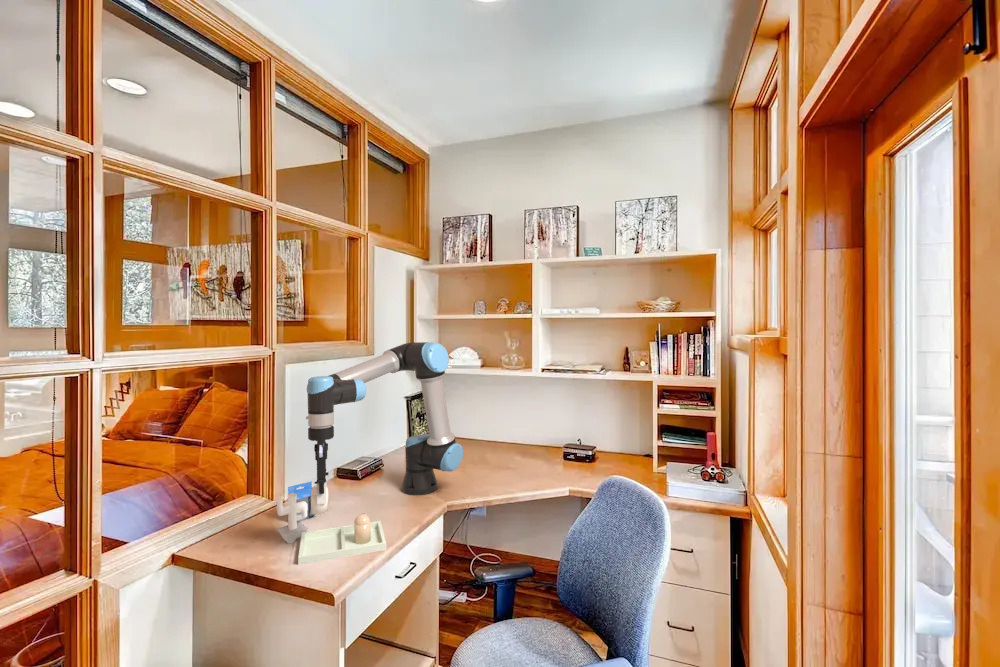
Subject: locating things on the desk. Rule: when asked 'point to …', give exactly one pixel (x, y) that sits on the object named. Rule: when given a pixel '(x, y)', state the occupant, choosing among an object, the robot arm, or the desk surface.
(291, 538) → the figurine
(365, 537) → the tan domed cylinder
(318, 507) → the cream domed cylinder
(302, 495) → the label tape cartridge
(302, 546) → the tray
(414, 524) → the desk surface
